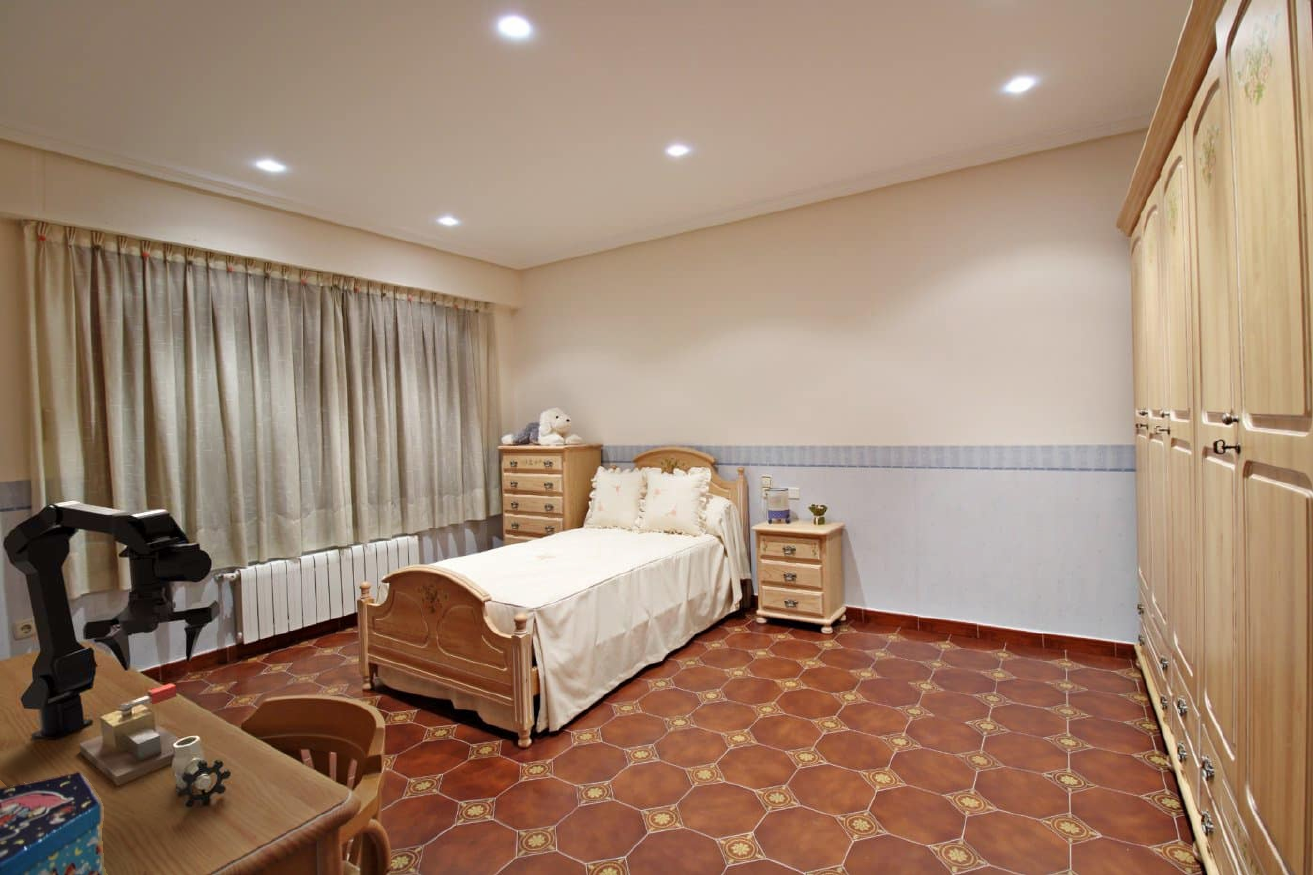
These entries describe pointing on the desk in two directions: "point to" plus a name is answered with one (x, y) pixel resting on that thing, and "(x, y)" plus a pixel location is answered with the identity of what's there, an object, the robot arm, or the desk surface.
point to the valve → (195, 771)
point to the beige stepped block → (131, 732)
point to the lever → (152, 697)
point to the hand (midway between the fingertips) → (158, 664)
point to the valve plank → (128, 758)
